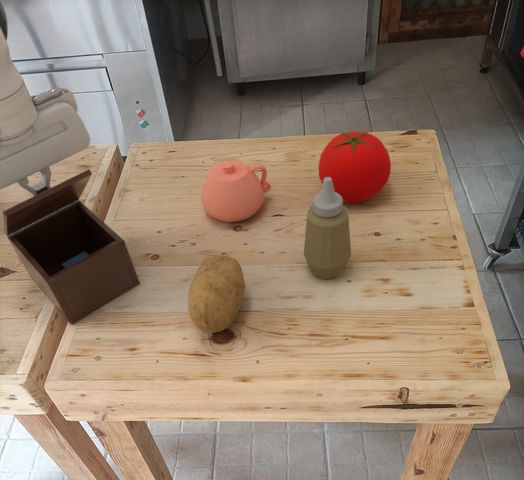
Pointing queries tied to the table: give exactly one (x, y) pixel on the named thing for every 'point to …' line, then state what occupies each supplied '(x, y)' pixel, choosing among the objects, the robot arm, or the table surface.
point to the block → (74, 259)
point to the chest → (82, 272)
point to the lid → (45, 203)
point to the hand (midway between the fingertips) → (43, 196)
